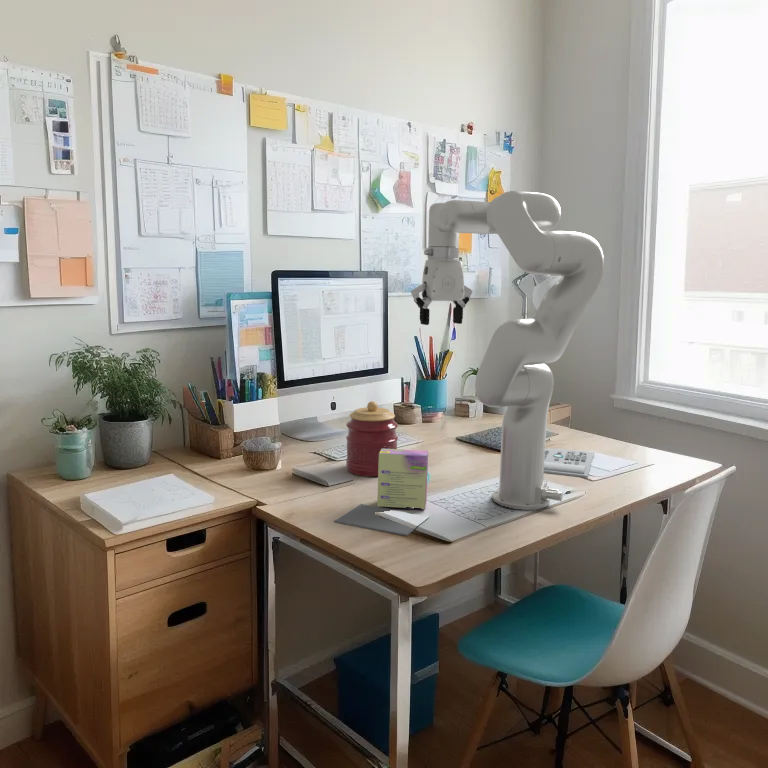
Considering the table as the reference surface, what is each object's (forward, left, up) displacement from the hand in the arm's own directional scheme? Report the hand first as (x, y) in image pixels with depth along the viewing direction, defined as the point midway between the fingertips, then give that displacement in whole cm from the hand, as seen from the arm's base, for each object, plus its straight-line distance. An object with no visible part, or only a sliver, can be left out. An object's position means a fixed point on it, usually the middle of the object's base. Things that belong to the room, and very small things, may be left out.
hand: (441, 323), depth 182 cm
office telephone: (-26, -18, -38) cm, 49 cm away
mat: (-5, +43, -37) cm, 56 cm away
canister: (+13, +12, -37) cm, 41 cm away
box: (-5, +33, -37) cm, 50 cm away
